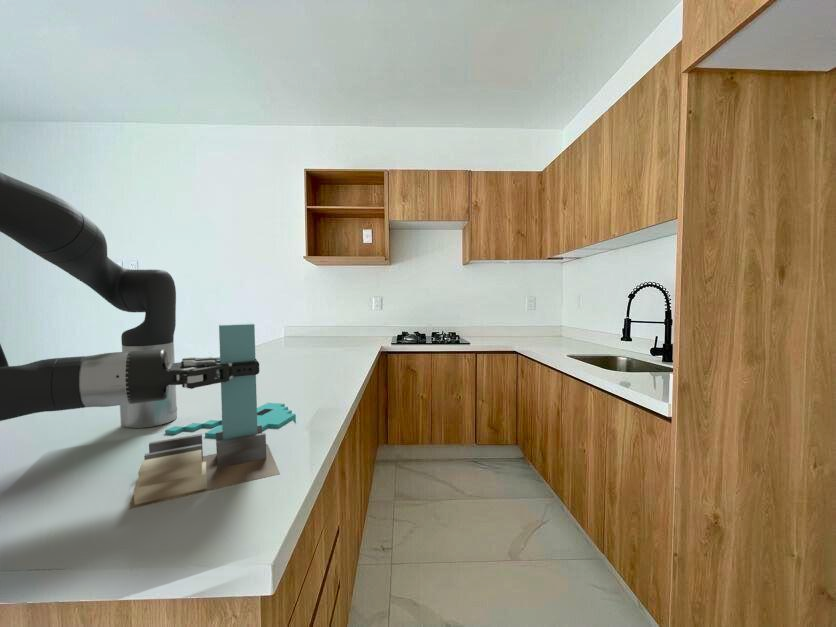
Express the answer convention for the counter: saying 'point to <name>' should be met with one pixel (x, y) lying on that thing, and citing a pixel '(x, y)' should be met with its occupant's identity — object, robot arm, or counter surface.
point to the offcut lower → (170, 487)
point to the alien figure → (266, 416)
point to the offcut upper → (170, 468)
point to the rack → (221, 460)
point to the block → (238, 381)
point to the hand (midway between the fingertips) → (257, 365)
